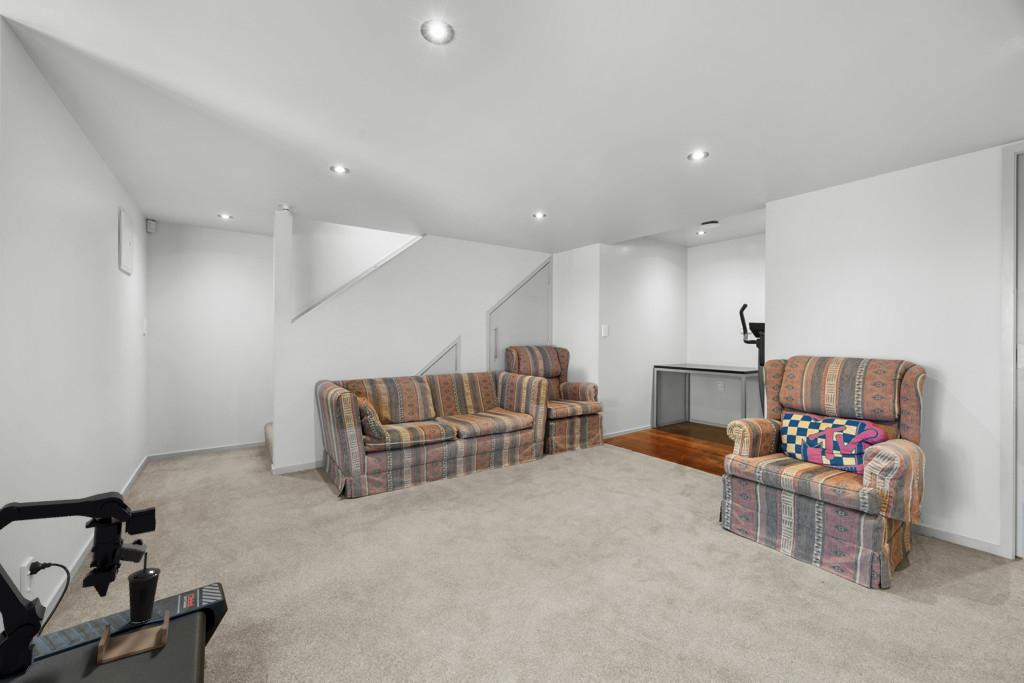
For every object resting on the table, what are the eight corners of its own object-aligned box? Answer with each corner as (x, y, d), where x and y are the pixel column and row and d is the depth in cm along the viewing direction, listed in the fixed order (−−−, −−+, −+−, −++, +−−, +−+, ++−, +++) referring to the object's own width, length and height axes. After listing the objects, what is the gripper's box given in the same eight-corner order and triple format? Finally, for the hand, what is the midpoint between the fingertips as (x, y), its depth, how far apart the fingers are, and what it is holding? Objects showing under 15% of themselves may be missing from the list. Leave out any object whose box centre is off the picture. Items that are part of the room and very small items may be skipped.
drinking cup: (164, 613, 134) (168, 548, 134) (140, 628, 126) (145, 559, 127) (141, 610, 135) (146, 546, 135) (117, 625, 127) (122, 557, 128)
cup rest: (96, 664, 112) (98, 645, 112) (104, 642, 120) (105, 625, 120) (165, 645, 120) (167, 628, 120) (168, 626, 128) (169, 609, 128)
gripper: (141, 546, 117) (136, 604, 117) (148, 522, 132) (145, 573, 132) (84, 555, 111) (79, 617, 110) (99, 529, 126) (95, 583, 126)
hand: (103, 596), depth 120 cm, fingers closed
